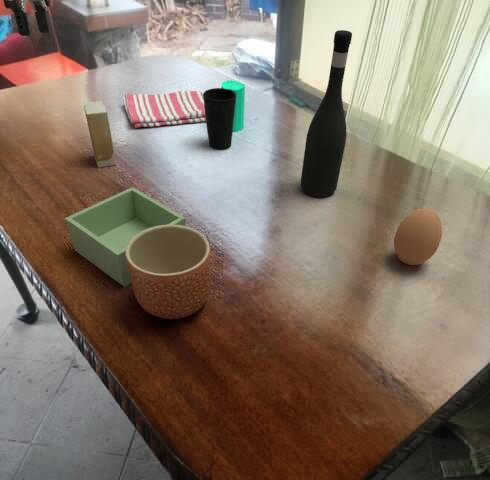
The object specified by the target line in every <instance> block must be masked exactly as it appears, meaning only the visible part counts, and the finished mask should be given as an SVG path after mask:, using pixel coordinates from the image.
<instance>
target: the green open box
mask: <svg viewBox="0 0 490 480" xmlns="http://www.w3.org/2000/svg"><path fill="white" fill-rule="evenodd" d="M64 221H65V224H66V227H67V230H68V234H69V237H70V240H71V244H72V247H73V250H74V251H75V252H76V253H77V254H79V255H80V256H81V257H83V258H85V259H86V260H87V261H89V263H91V264H92V265H94V266H95V267H97V269H99V270H100V271H102V272H103V273H105V274H106V275H107V276H109V277H110V278H112V279H113V280H114V281H116V282H117V283H118V284H120V286H122V287H124V288H126V287H128V286H129V285H132V282H131V278H130V275H129V271H128V267H127V263H126V256H125V251H126V247H127V244H128V243H129V241H130V240H131V239H132V238H133V237H134V236H135V235H136V234H138V233H139V232H141V231H143V230H145V229H148V228H151V227H155V226H160V225H182V226H186V227H187V219H186V217H185V216H184V215H182V214H180V213H178V212H176V211H175V210H173V209H171V208H169V207H168V206H166V205H164V204H162V202H159V201H158V200H156V199H155V198H152V197H150V196H149V195H147V194H145V193H144V192H142V191H140V190H139V189H137V188H135V187H133V186H132V187H129V188H127V189H125V190H123V191H121V192H118V193H117V194H114V195H112V196H110V197H108V198H105V199H104V200H102V201H100V202H96V203H94V204H93V205H90V206H89V207H86V208H84V209H82V210H80V211H77V212H76V213H73V214H71V215H69V216H67V217H65V218H64Z"/></svg>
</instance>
